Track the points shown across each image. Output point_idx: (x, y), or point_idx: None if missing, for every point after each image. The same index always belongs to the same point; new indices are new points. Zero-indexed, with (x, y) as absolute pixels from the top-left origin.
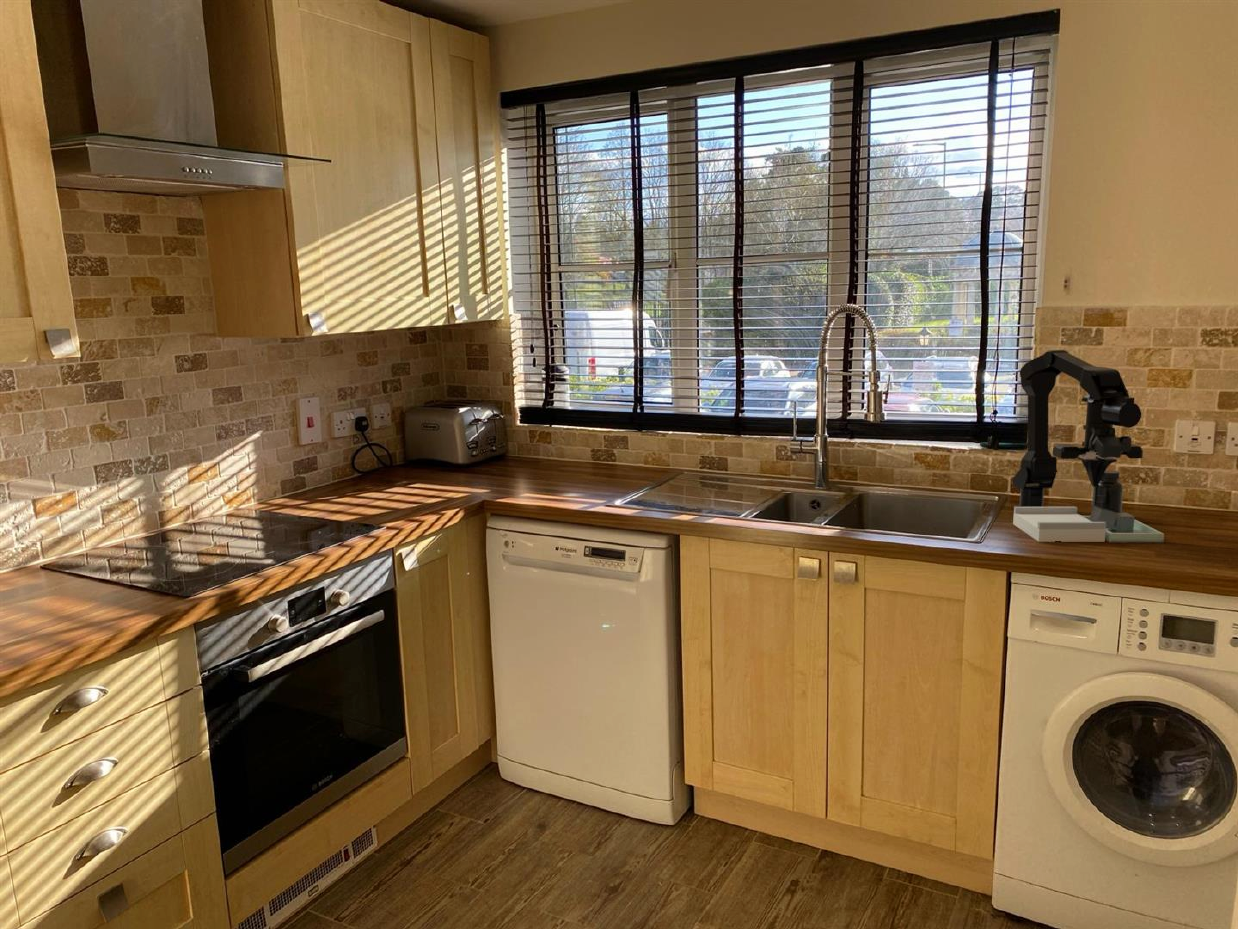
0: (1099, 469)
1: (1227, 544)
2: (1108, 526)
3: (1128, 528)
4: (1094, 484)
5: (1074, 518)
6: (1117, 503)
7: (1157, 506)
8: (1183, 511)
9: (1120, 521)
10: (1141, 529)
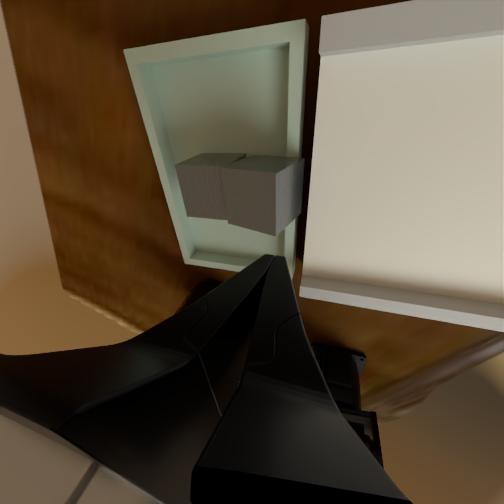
0: (219, 338)
1: (11, 45)
2: (263, 156)
3: (208, 155)
4: (282, 260)
5: (346, 223)
6: (188, 303)
7: (136, 324)
8: (108, 298)
9: (222, 160)
10: (176, 178)
